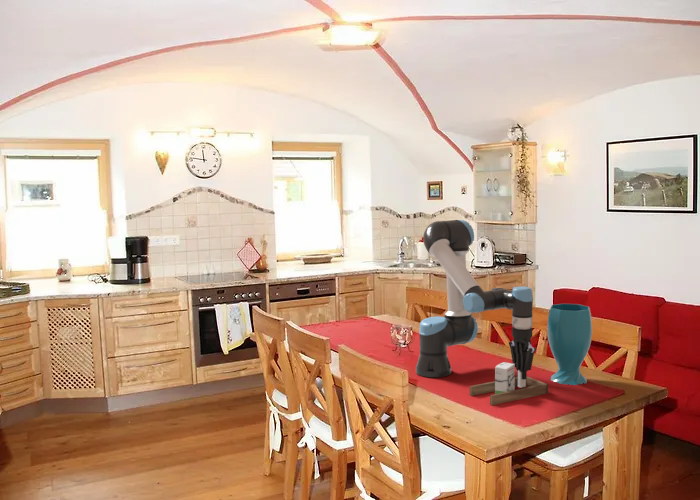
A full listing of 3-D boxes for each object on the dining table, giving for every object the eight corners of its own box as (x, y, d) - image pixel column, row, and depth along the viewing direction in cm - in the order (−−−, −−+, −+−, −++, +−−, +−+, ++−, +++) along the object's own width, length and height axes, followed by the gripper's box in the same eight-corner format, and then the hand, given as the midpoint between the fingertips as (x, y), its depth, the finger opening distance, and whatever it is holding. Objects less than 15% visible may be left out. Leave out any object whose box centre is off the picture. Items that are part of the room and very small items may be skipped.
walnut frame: (469, 395, 254) (469, 386, 254) (524, 383, 267) (524, 375, 266) (491, 405, 242) (491, 396, 242) (548, 393, 255) (548, 384, 254)
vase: (567, 388, 260) (568, 313, 256) (537, 376, 275) (538, 305, 272) (600, 382, 267) (602, 308, 263) (570, 371, 282) (571, 301, 279)
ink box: (506, 399, 249) (506, 368, 247) (494, 397, 252) (494, 366, 250) (515, 393, 256) (515, 363, 254) (502, 390, 259) (503, 361, 257)
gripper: (503, 325, 259) (503, 383, 261) (526, 331, 247) (525, 393, 250) (518, 322, 262) (517, 380, 265) (541, 329, 250) (540, 389, 253)
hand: (521, 386), depth 257 cm, fingers closed
